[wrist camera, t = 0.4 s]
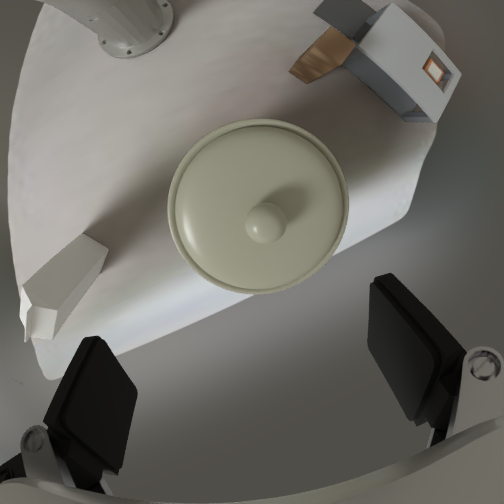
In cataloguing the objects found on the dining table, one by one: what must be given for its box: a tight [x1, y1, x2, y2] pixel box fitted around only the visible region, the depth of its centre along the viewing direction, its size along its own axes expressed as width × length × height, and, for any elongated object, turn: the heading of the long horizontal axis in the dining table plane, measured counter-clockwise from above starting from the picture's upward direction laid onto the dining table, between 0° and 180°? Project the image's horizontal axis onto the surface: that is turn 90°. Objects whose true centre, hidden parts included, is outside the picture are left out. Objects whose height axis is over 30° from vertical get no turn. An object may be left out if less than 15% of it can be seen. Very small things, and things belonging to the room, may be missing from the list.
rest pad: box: [313, 0, 376, 43], centre depth 31 cm, size 9×9×1 cm
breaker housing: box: [341, 2, 462, 123], centre depth 31 cm, size 16×12×9 cm
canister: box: [167, 118, 349, 294], centre depth 32 cm, size 18×18×21 cm
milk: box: [20, 233, 109, 342], centre depth 34 cm, size 6×6×22 cm
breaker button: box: [422, 59, 444, 85], centre depth 30 cm, size 3×3×4 cm
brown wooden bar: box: [289, 26, 356, 84], centre depth 29 cm, size 3×3×14 cm
